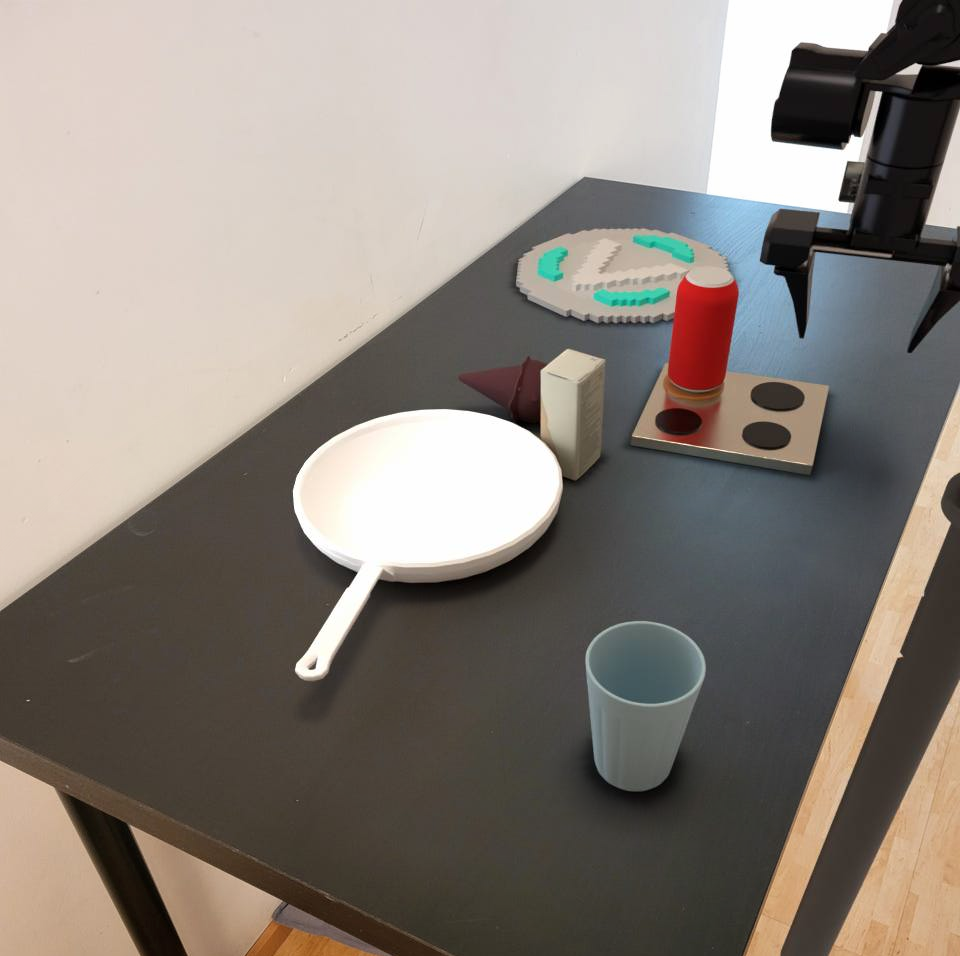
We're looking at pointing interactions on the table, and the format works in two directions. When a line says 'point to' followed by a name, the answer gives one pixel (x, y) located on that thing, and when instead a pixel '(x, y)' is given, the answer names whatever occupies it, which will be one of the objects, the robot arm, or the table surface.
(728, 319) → the beverage can
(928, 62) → the robot arm
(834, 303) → the table surface
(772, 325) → the table surface
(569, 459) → the box
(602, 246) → the grey teal round disc
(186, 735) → the table surface
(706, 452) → the stove
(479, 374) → the icecream
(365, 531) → the pan
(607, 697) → the cup
